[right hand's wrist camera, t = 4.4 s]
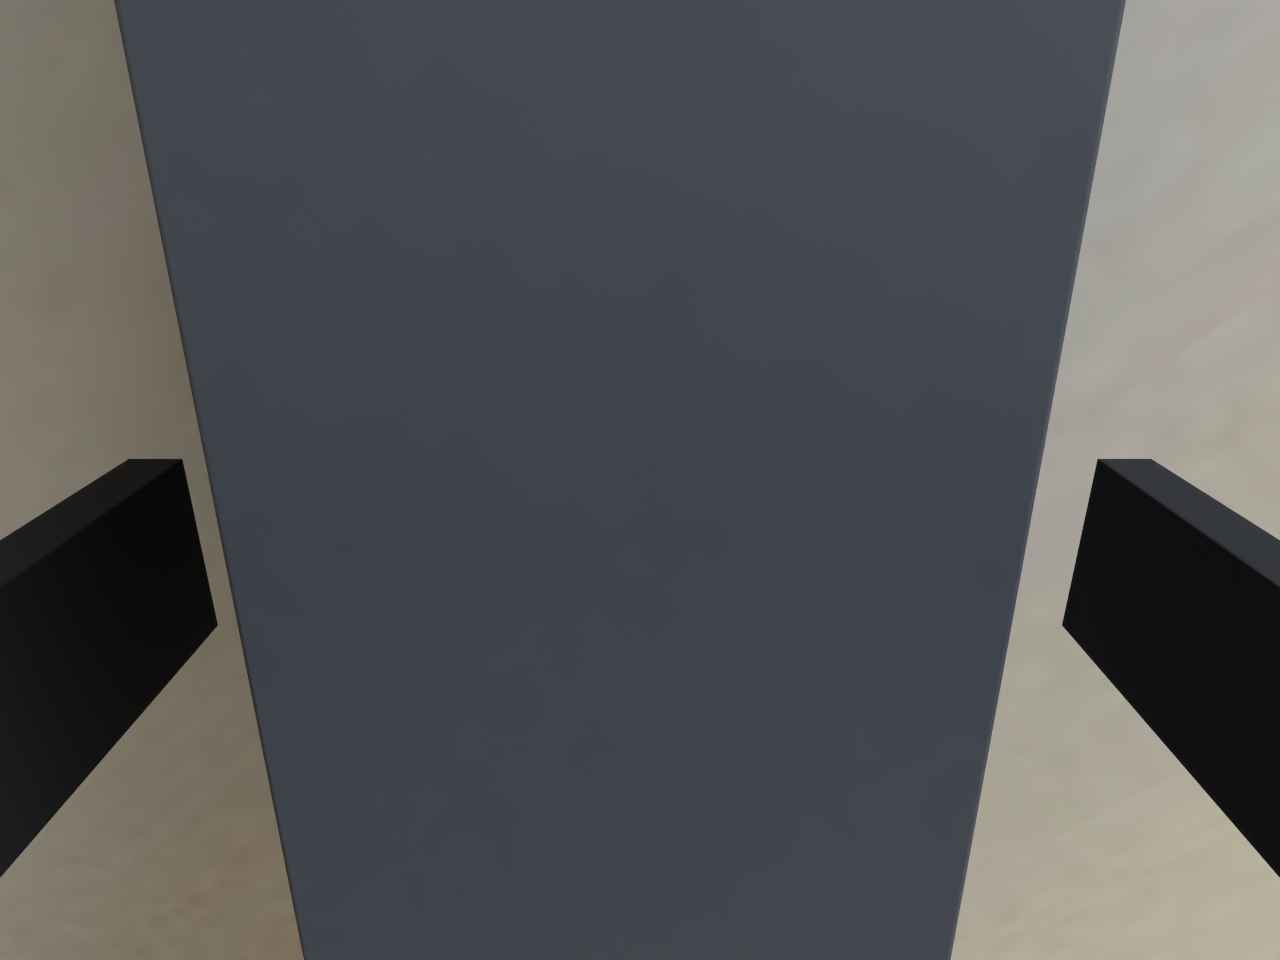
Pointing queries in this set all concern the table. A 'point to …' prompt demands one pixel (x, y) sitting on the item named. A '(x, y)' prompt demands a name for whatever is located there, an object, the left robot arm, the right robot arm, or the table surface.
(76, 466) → the table surface
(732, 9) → the box
